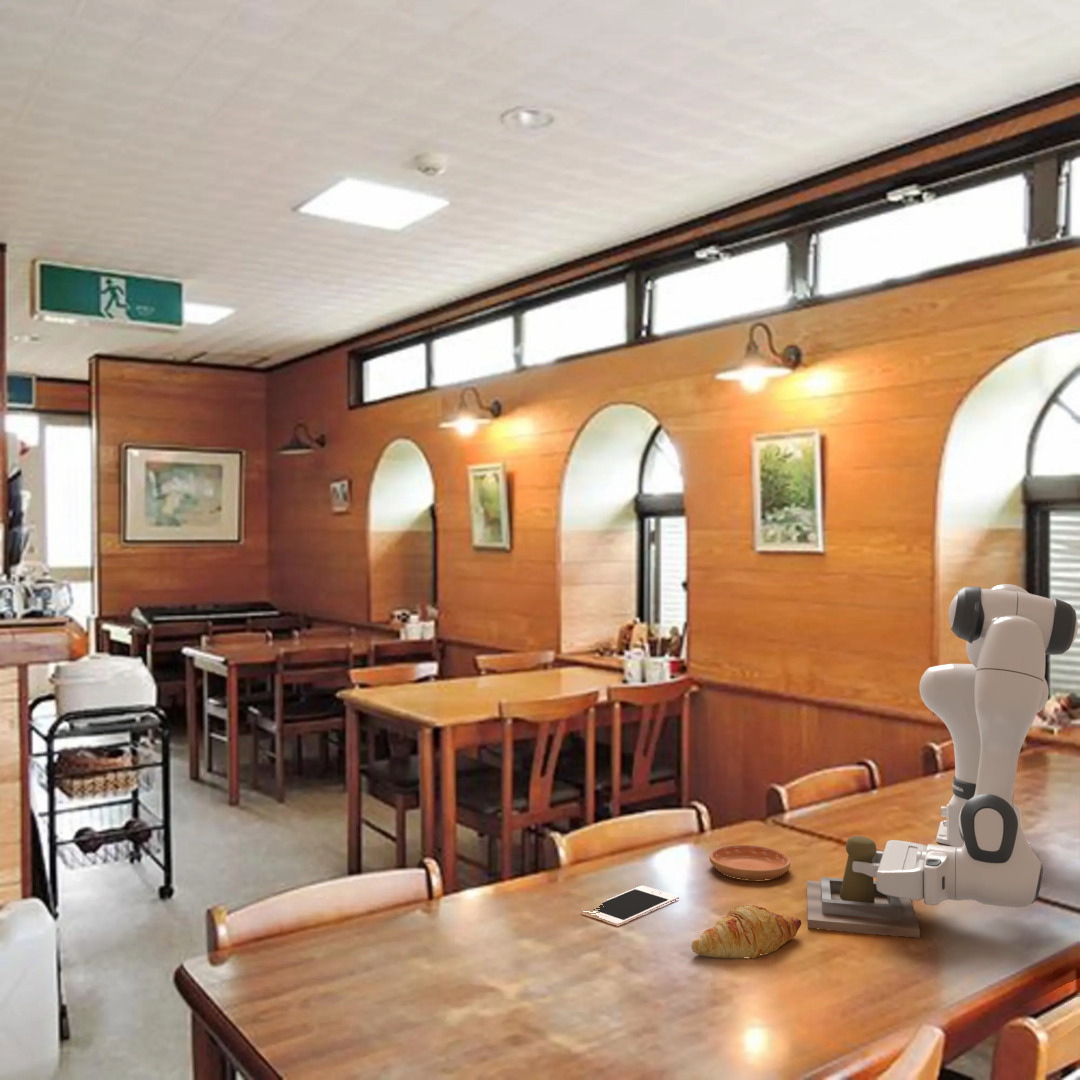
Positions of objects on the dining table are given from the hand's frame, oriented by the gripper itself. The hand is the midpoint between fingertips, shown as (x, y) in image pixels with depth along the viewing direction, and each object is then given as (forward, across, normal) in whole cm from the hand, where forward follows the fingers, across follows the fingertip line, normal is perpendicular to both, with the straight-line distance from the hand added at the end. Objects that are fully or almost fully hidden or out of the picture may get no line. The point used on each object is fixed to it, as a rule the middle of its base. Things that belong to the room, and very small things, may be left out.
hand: (854, 861), depth 180 cm
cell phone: (+37, +14, +9) cm, 41 cm away
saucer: (+22, -14, +9) cm, 28 cm away
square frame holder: (-1, 0, +9) cm, 9 cm away
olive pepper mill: (0, 0, +7) cm, 7 cm away
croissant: (+14, +23, +9) cm, 29 cm away
